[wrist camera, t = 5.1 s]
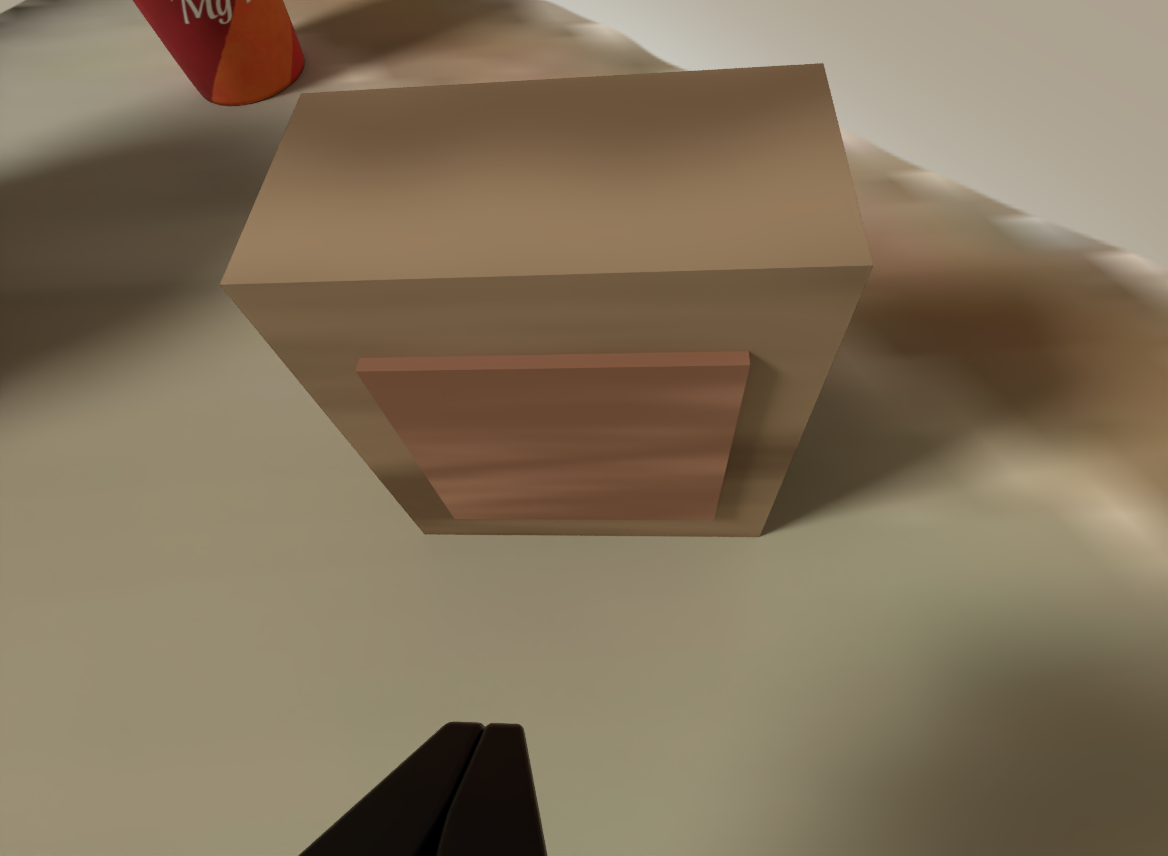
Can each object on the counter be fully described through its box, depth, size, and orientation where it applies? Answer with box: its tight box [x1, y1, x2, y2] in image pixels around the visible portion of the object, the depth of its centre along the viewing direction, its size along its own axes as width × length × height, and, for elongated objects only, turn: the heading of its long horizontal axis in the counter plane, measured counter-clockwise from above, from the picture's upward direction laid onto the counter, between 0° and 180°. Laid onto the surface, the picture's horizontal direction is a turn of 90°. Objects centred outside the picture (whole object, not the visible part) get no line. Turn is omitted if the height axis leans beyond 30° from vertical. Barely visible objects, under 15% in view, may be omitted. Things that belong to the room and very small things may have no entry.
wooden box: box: [220, 63, 873, 537], centre depth 16 cm, size 5×10×11 cm, turn 88°
